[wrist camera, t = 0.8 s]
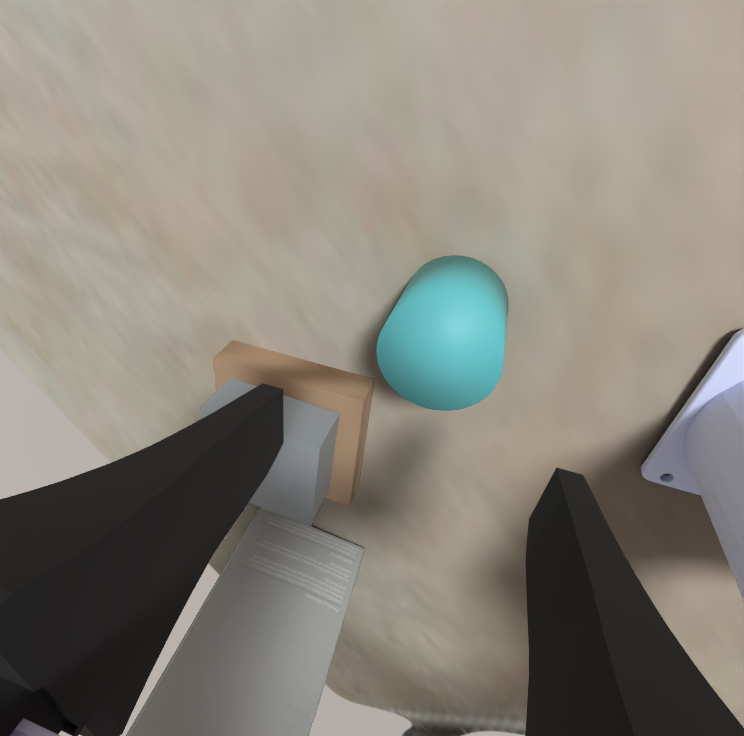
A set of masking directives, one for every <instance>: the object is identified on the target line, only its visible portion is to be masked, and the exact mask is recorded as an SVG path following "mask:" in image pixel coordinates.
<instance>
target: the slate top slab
mask: <svg viewBox="0 0 744 736" xmlns="http://www.w3.org/2000/svg"><path fill="white" fill-rule="evenodd" d="M255 387H257V386H254V385H251V384H248V383H245V382H242V381H239V380H236V379H233V378H230V379H229V380H228V381H227V382H226V383H224V384H223V385H222V386H221V387H220V388H219V389H218V390H217V391H216V392H215V393H214V394H213V395H212V396H211V397H210V398H209V399H208V400H207V401H206V402H205V403H204V404H203V405H202V406H201V412H202V418H204V417H206V416H208V415H209V414H211V413H213V412H215V411H216V410H218V409H220V408H222V407H223V406H225V405H227V404H228V403H230V402H232V401H233V400H235V399H237V398H238V397H240V396H242V395H243V394H245V393H247V392H248V391H250V390H252V389H254V388H255ZM339 415H340V413H337V412H334V411H331V410H327V409H324V408H321V407H318V406H315V405H312V404H309V403H306V402H303V401H300V400H297V399H294V398H291V397H288V396H285V395H283V425H284V443H283V445H282V447H281V449H280V451H279V453H278V455H277V457H276V459H275V461H274V463H273V465H272V467H271V469H270V470H269V472H268V474H267V476H266V477H265V479H264V480H263V482H262V483H261V485H260V486H259V488H258V489H257V491H256V492H255V494H254V495H253V497H252V498H251V499H250V501H249V502H248V503H250V504H252V505H255V506H258V507H260V508H263V509H266V510H268V511H271V512H274V513H276V514H279V515H282V516H284V517H287V518H290V519H292V520H295V521H298V522H300V523H303V524H306V525H308V526H311V525H312V523H313V521H314V519H315V517H316V515H317V513H318V511H319V509H320V507H321V505H322V503H323V501H324V499H325V497H326V495H327V493H328V491H329V485H330V478H331V471H332V464H333V457H334V450H335V443H336V436H337V429H338V422H339Z"/></svg>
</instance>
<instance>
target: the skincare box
mask: <svg viewBox="0 0 744 736" xmlns="http://www.w3.org/2000/svg"><path fill="white" fill-rule="evenodd" d="M364 551H365V549H364V548H363V547H360V546H358V545H356V544H353V543H351V542H348V541H346V540H343V539H341V538H339V537H336V536H334V535H331V534H329V533H326V532H324V531H322V530H319V529H317V528H314V527H312V526H308V525H306V524H303V523H300V522H298V521H295V520H292V519H290V518H287V517H284V516H282V515H279V514H276V513H274V512H271V511H268V510H266V509H263V508H259V510H258V511H257V513H256V515H255V516H254V518H253V520H252V521H251V523H250V525H249V526H248V528H247V530H246V531H245V533H244V535H243V537H242V538H241V540H240V542H239V543H238V545H237V547H236V548H235V550H234V552H233V554H232V555H231V557H230V559H229V561H228V562H227V564H226V566H225V567H224V569H223V571H222V573H221V574H220V576H219V578H218V579H217V581H216V583H215V585H214V586H213V588H212V590H211V592H210V593H209V595H208V596H207V598H206V600H205V602H204V604H203V605H202V607H201V608H200V610H199V612H198V614H197V615H196V617H195V619H194V621H193V622H192V624H191V626H190V628H189V629H188V631H187V633H186V634H185V636H184V638H183V639H182V641H181V643H180V645H179V646H178V648H177V650H176V651H175V653H174V655H173V656H172V658H171V660H170V662H169V663H168V665H167V667H166V668H165V670H164V672H163V673H162V675H161V677H160V679H159V680H158V682H157V684H156V686H155V688H154V689H153V691H152V693H151V694H150V696H149V698H148V699H147V701H146V703H145V705H144V706H143V708H142V709H141V711H140V713H139V714H138V716H137V718H136V719H135V721H134V723H133V724H132V726H131V728H130V730H129V731H128V733H127V734H126V736H309V733H310V729H311V725H312V723H313V720H314V717H315V715H316V711H317V707H318V704H319V701H320V698H321V694H322V691H323V687H324V684H325V681H326V677H327V674H328V671H329V667H330V664H331V661H332V657H333V654H334V651H335V648H336V645H337V641H338V638H339V635H340V631H341V628H342V624H343V621H344V618H345V615H346V611H347V608H348V605H349V602H350V598H351V595H352V592H353V589H354V585H355V582H356V579H357V575H358V572H359V568H360V565H361V562H362V558H363V554H364Z"/></svg>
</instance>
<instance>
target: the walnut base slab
mask: <svg viewBox="0 0 744 736" xmlns="http://www.w3.org/2000/svg"><path fill="white" fill-rule="evenodd" d="M213 363H214V372H215V380H216V389H217V390H218V389H219V388H220V387H221V386H222V385H223V384H224V383H226V382H227V381H228V380H229V379H230V378H233V379H236V380H239V381H242V382H245V383H248V384H251V385H254V386H259V385H260V384H262V383H264V384H267V385H271V386H274V387H278V388H281V389H283V395H285V396H288V397H291V398H294V399H297V400H300V401H303V402H306V403H309V404H312V405H315V406H318V407H321V408H324V409H327V410H331V411H334V412H337V413H340V415H339V422H338V429H337V436H336V443H335V450H334V457H333V464H332V471H331V478H330V485H329V491H328V493H327V495H326V497H325V499H328V500H331V501H334V502H337V503H340V504H343V505H346V506H350V503H351V501H352V499H353V496H354V494H355V491H356V489H357V486H358V484H359V480H360V474H361V467H362V460H363V454H364V447H365V441H366V434H367V427H368V421H369V414H370V407H371V401H372V394H373V387H374V381H375V379H371V378H368V377H364V376H360V375H357V374H353V373H349V372H346V371H342V370H339V369H335V368H331V367H328V366H324V365H320V364H317V363H313V362H310V361H306V360H302V359H299V358H295V357H291V356H288V355H284V354H281V353H277V352H273V351H270V350H266V349H262V348H259V347H255V346H252V345H248V344H244V343H241V342H237V341H232V342H231V343H229V344H228V345H227V346H226V347H225V348H224V349H223V350H222V351H221V352H219V353H218V354H217V355H216V356H215V357H214V358H213Z"/></svg>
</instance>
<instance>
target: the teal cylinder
mask: <svg viewBox="0 0 744 736" xmlns="http://www.w3.org/2000/svg"><path fill="white" fill-rule="evenodd" d="M507 314H508V297H507V292H506V289H505V286H504V284H503V283H502V281H501V279H500V278H499V276H498V275H497V274H496V273H495V272H494V271H493V270H492V269H491V268H490V267H488V266H487V265H485V264H484V263H482V262H480V261H478V260H476V259H473V258H469V257H465V256H445V257H440V258H437V259H434V260H432V261H430V262H428V263H426V264H425V265H423V266H422V267H421V268H420V269H419V270H418V271H417V272H416V273H415V274H414V275H413V276H412V278H411V280H410V281H409V283H408V285H407V287H406V288H405V290H404V292H403V294H402V295H401V297H400V299H399V301H398V302H397V304H396V306H395V308H394V309H393V311H392V313H391V314H390V316H389V318H388V320H387V321H386V323H385V325H384V327H383V328H382V330H381V332H380V335H379V337H378V341H377V349H376V353H377V361H378V365H379V368H380V370H381V373H382V374H383V376H384V378H385V380H386V381H387V382H388V384H389V385H390V386H391V387H392V388H393V389H394V390H395V391H396V392H397V393H398V394H399V395H401V396H402V397H403V398H405V399H407V400H408V401H410V402H412V403H414V404H416V405H419V406H422V407H425V408H429V409H433V410H446V411H449V410H458V409H463V408H466V407H469V406H472V405H474V404H476V403H478V402H480V401H481V400H483V399H484V398H485V397H487V396H488V395H489V394H490V393H491V392H492V391H493V389H494V388H495V386H496V385H497V383H498V381H499V379H500V377H501V373H502V370H503V360H504V349H505V337H506V326H507Z"/></svg>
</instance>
